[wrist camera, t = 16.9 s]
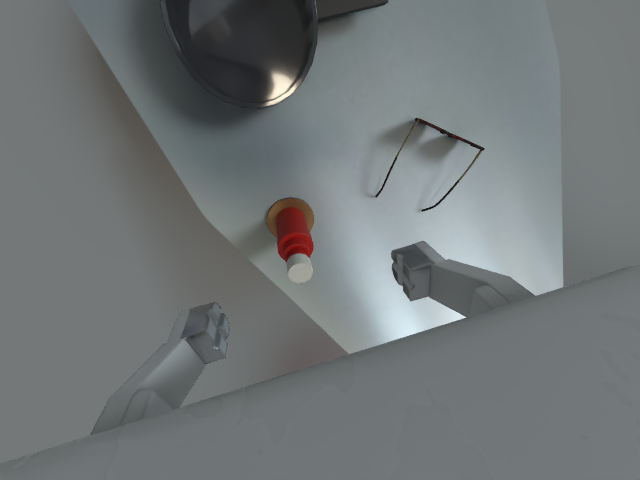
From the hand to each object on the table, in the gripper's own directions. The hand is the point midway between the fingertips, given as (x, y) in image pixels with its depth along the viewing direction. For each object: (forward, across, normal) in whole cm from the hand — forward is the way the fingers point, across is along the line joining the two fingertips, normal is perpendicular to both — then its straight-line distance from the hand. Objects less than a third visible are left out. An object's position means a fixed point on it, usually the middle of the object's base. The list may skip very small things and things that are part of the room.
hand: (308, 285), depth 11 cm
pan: (+34, 0, -15) cm, 37 cm away
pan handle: (+32, -14, -15) cm, 38 cm away
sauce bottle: (+34, +1, +13) cm, 36 cm away
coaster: (+34, +1, +13) cm, 37 cm away
